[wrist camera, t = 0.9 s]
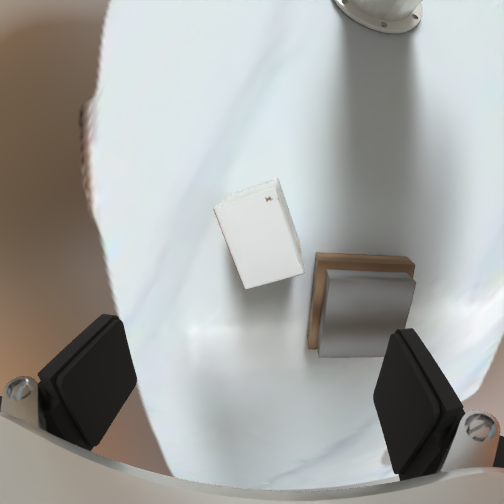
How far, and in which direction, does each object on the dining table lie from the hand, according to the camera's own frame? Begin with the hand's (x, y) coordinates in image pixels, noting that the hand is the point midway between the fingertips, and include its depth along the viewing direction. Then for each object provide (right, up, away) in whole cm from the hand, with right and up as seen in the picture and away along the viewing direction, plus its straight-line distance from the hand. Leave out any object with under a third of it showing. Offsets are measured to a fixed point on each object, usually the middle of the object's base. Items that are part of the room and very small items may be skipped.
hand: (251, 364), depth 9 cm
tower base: (+14, -2, +26) cm, 30 cm away
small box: (+2, +8, +25) cm, 26 cm away
